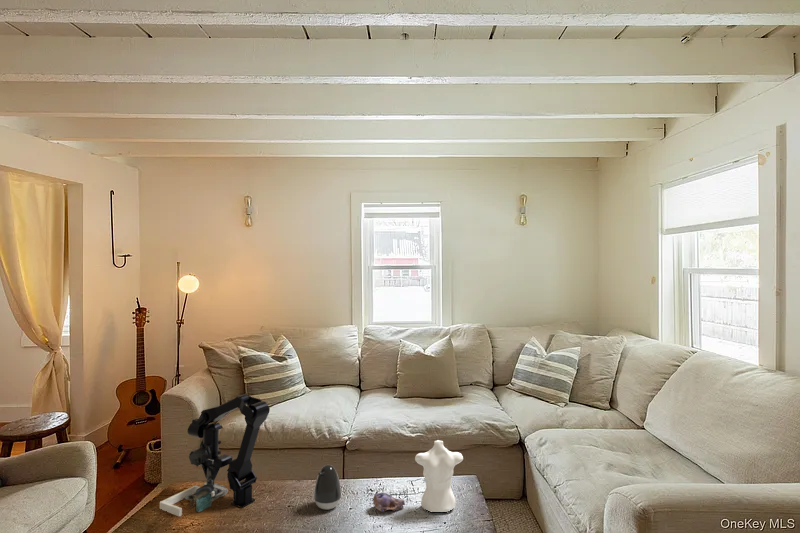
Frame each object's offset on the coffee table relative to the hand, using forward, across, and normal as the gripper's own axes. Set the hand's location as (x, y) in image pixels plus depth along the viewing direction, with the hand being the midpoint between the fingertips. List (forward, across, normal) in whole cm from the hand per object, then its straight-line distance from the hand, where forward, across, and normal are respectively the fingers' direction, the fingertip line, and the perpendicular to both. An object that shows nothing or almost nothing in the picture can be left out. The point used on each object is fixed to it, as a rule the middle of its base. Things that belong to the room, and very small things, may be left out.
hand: (210, 479), depth 174 cm
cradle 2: (+5, +5, 0) cm, 7 cm away
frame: (+5, +1, -10) cm, 11 cm away
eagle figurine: (+5, +4, -8) cm, 11 cm away
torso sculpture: (+6, +85, +32) cm, 91 cm away
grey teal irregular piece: (+5, +3, -6) cm, 8 cm away
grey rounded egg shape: (+6, +48, +14) cm, 50 cm away
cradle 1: (+5, +1, 0) cm, 5 cm away
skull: (+6, +69, +23) cm, 73 cm away
